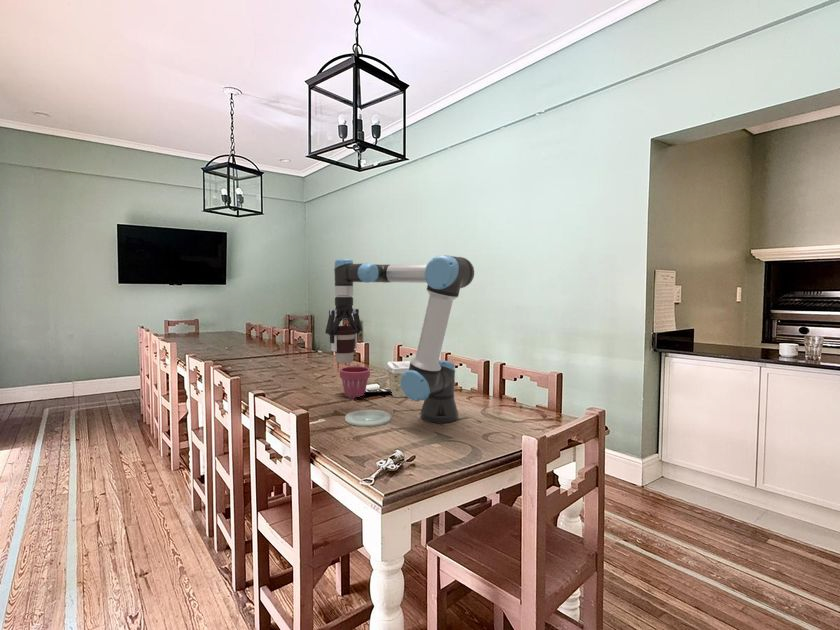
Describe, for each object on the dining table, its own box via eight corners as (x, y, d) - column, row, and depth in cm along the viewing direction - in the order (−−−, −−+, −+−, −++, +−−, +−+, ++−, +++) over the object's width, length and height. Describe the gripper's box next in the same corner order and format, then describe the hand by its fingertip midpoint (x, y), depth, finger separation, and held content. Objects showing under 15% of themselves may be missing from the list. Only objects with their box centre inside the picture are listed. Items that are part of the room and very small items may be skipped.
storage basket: (391, 398, 206) (391, 367, 205) (385, 390, 222) (386, 361, 221) (441, 396, 212) (441, 365, 210) (432, 388, 227) (432, 359, 226)
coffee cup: (358, 360, 191) (358, 325, 190) (352, 364, 181) (352, 327, 180) (336, 359, 192) (336, 325, 191) (329, 363, 182) (328, 327, 181)
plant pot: (371, 398, 205) (372, 371, 204) (341, 400, 202) (341, 372, 201) (367, 391, 219) (367, 365, 218) (338, 392, 215) (338, 366, 215)
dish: (370, 409, 188) (370, 406, 187) (400, 419, 175) (400, 416, 175) (335, 419, 174) (335, 415, 174) (365, 430, 162) (365, 426, 162)
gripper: (359, 295, 196) (359, 346, 197) (315, 296, 179) (316, 351, 181) (370, 296, 190) (370, 347, 192) (326, 297, 174) (327, 353, 176)
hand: (344, 349), depth 186 cm, fingers closed on coffee cup, 10 cm apart
